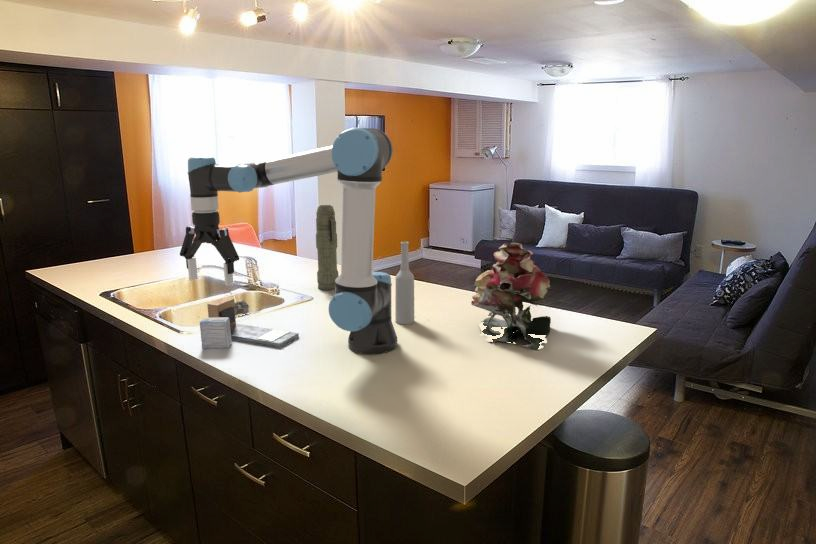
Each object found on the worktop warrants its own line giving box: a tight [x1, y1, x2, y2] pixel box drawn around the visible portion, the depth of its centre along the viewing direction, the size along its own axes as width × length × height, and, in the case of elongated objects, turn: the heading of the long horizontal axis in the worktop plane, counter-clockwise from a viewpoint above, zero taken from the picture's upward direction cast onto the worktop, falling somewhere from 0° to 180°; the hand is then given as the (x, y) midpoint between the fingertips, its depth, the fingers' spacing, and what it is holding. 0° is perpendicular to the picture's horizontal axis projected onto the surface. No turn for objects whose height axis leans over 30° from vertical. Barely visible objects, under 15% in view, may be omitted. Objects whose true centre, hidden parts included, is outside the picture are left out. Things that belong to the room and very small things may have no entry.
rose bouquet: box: [470, 242, 553, 350], centre depth 181 cm, size 26×29×30 cm
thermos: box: [315, 204, 340, 291], centre depth 235 cm, size 9×12×35 cm
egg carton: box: [234, 299, 250, 316], centre depth 205 cm, size 11×8×4 cm
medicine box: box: [199, 317, 233, 349], centre depth 171 cm, size 8×4×9 cm, turn 92°
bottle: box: [394, 241, 415, 325], centre depth 192 cm, size 7×7×28 cm
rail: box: [206, 297, 300, 349], centre depth 180 cm, size 30×10×10 cm, turn 67°
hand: (211, 282), depth 168 cm, fingers open, 13 cm apart
